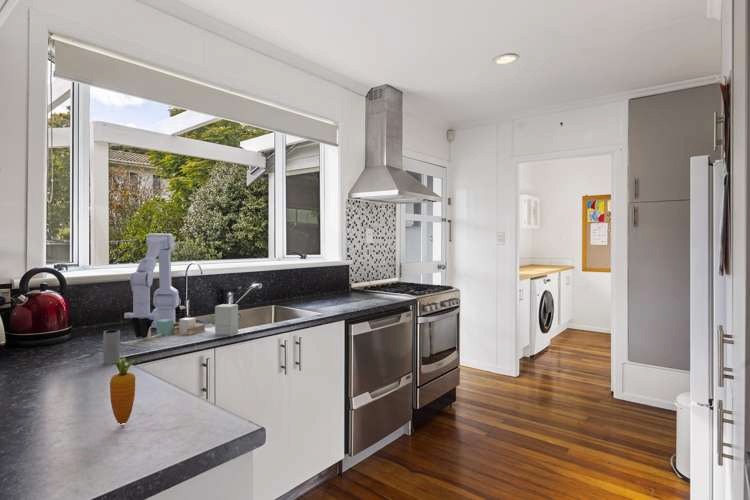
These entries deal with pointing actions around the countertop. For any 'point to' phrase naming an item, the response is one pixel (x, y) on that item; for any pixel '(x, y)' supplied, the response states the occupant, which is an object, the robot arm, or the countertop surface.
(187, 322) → the plain block
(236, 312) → the supplement box
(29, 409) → the countertop surface
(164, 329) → the strung block
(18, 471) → the countertop surface
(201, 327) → the lane shelf
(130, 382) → the carrot
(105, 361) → the planter
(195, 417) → the countertop surface
